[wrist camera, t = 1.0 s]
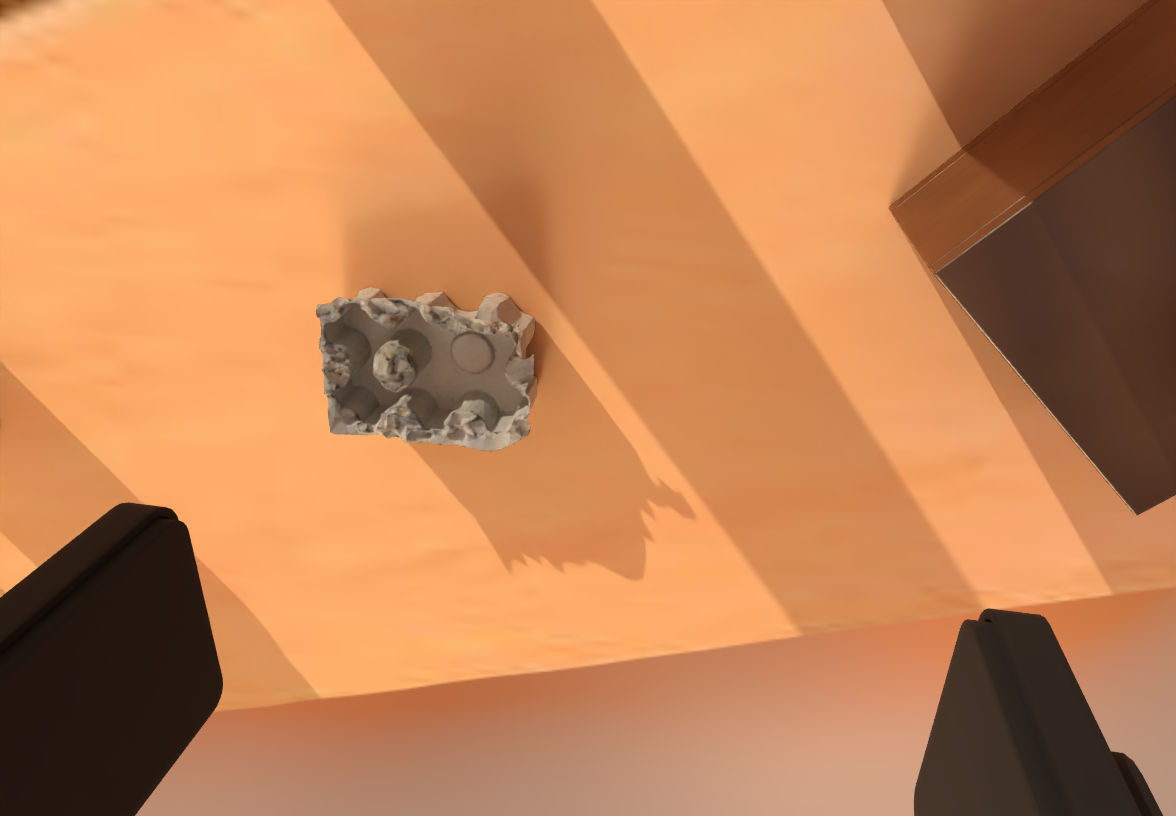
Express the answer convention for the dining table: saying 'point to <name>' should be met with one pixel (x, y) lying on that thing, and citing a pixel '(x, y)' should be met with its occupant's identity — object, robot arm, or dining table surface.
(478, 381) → the egg carton
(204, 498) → the dining table surface
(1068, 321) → the cabinet
